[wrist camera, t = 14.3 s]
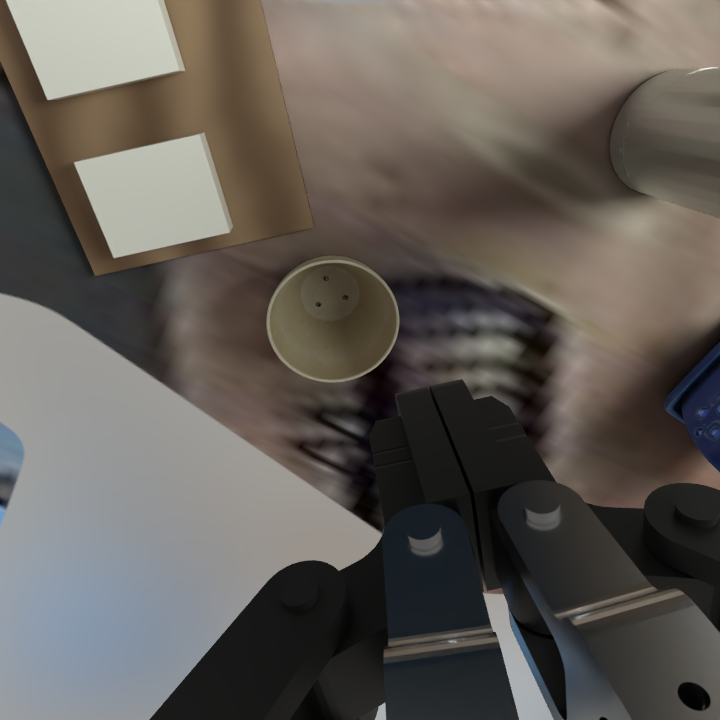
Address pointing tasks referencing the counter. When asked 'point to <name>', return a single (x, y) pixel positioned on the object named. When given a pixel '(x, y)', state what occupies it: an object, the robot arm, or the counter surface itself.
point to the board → (178, 126)
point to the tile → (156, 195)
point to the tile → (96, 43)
